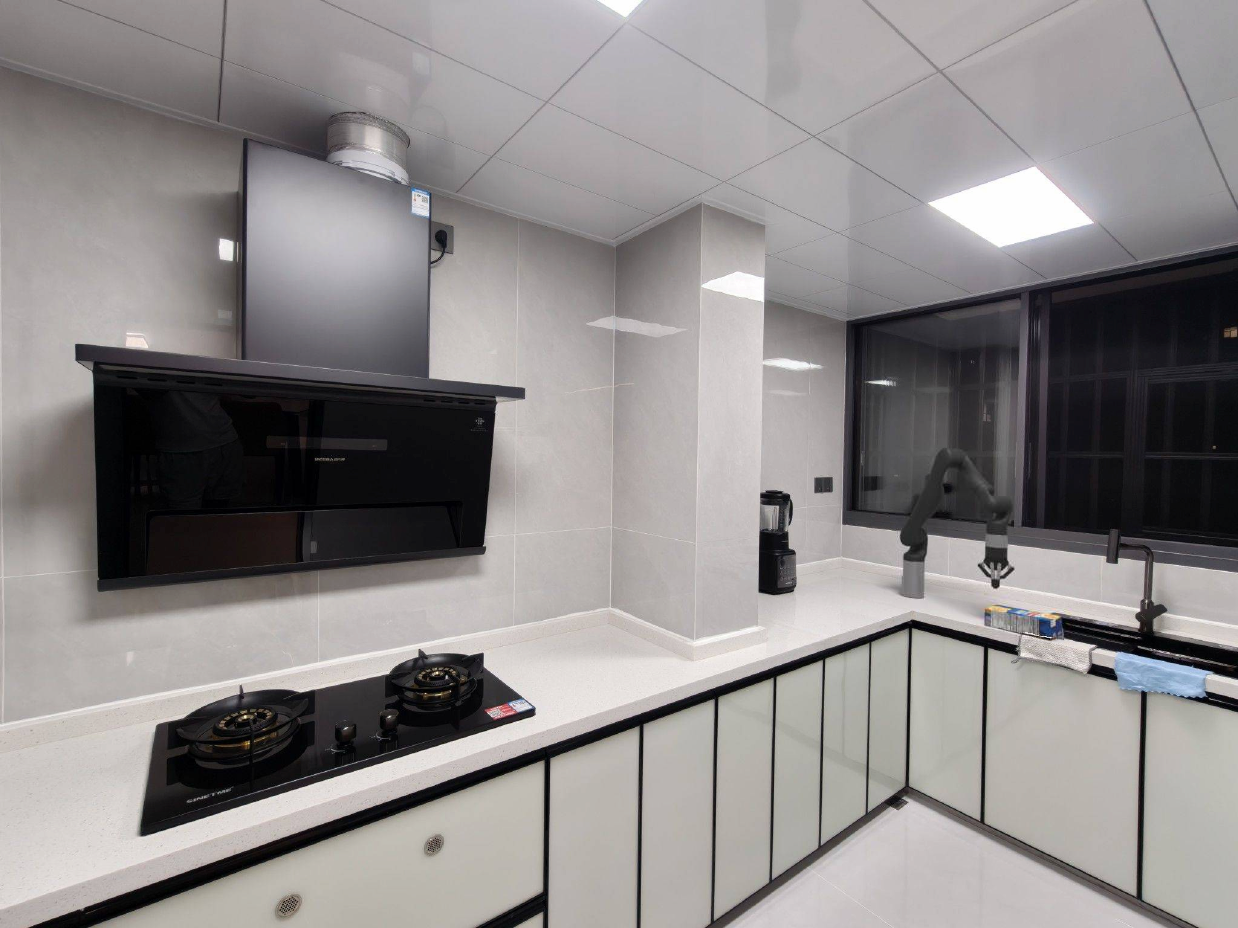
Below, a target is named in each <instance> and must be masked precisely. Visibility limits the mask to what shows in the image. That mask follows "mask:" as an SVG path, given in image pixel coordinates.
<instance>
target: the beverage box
mask: <svg viewBox="0 0 1238 928" xmlns="http://www.w3.org/2000/svg"><path fill="white" fill-rule="evenodd" d="M983 612H984V614H983V615H984V617H983V618H984V626H985V627H989V628H993V629H994V628H995V629H998V630H1000V629H999V628H1002V629H1003V631H1008V632H1012V633H1013V632H1014V633H1017V632H1020V633H1019V634H1022V633H1023V632H1028V633H1033V634H1035V635H1039V636H1047V637H1052V638H1053V639H1056V638H1055V637H1058V636H1060V635H1062V628H1063V615H1056V614H1050V613H1045V612H1039V611H1033V610H1028V609H1022V608H1017V607H1013V606H1006V605H1002V604H995V605H992V606H989V607H985V608H984V611H983Z"/></svg>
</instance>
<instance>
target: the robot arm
mask: <svg viewBox="0 0 1238 928" xmlns="http://www.w3.org/2000/svg"><path fill="white" fill-rule="evenodd" d="M948 470H957V471H959V472H960V473H961V474H962V475H963V476H964V478H965V484H966V487H967V489H969V490H970V492H971V493H973V495H974V496H975V497H976V498H977V501H978V503H979V505H980V507H981V509H982V511H985V512H986V513H988V514H991V515H992V514H995V516H994V517H993V518H991V519H988V520H986V523H985V524H986V525H985V528H986V529H985V532H986V533H985V538H984V539H985V541H984V558H983V559H982V560H983V561H981V562H979V563H977V567H978V568H979V569H980V571H981V572H982V573H983V574H984V575H985V577H987V578H989V579H990V587H991V588H993V589H996V590H998V588H1000V586H1001V580H1005V579H1006V578H1007V577H1008V576H1009V575H1010V574H1012V573H1013V572H1014V571H1015V567H1014V566H1012V565H1011V564H1010V563H1009V559H1008V548H1009V547H1008V546H1009V542H1008V541H1009V540H1008V524H1009V521H1010V518H1011V516H1012V512H1013V508H1014V506H1013V505H1014V504H1013V501H1012V500H1011V499H1010V497H1009V496H1004V495H995V494H996V493H995V492H996V491H995V488H994V487H993V486H992V485H991V484H990V483H989V482H988V481H987V480H986V478H984V476H982V474H981V473H980V472H979V471H978V469H977V467H976V466H975V465H974V463H973V462H972V460H971V459H970V457H969V456H968V454H967V453H966V452H965V451H964V450H963V449H960V448H952V447H943V448H940V449H939V451H938V452H937V454H936V455H935V458H934V461H933V464H932V466H931V470H930V474H929V475H928V477H927V480H926V482H925V485H924V486H923V489H922V490H921V493H920V494H919V496H918V500H917V502H916V504H915V506H914V508H913V509H912V512H911V514H910V515H909V518H908V519H907V521H906V522H905V523H904V525H903V527H902V529H901V531H900V533H899V540H900V543H901V545H903V546H904V547H909V548H908V550H906V551H905V552H904V553H903V554H902V575H901V590H900V591H901V596H903V597H907V598H912V599H924V597H925V572H926V571H925V569H926V566H925V565H926V562H925V561H926V557H927V555H928V545H929V544H928V543H929V537H928V532H927V530H926V529H925V528H923V525H924V524H925V523H926V521H928V520H929V519H930V518H931V517H932V516H933V515H934V514H935V513H936V512H937V511H938V510H939V508H940V506H941V505H942V503H943V501H944V499H945V488H944V482H943V481H944V477H945V475H946V473H947V471H948ZM985 567H987V568H988V570H990V573H989V572H988V570H987V569H986V568H985ZM1005 569H1006V571H1005V572H1004V573H1003V574H1002V571H1004V570H1005ZM1001 574H1002V575H1001Z"/></svg>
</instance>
